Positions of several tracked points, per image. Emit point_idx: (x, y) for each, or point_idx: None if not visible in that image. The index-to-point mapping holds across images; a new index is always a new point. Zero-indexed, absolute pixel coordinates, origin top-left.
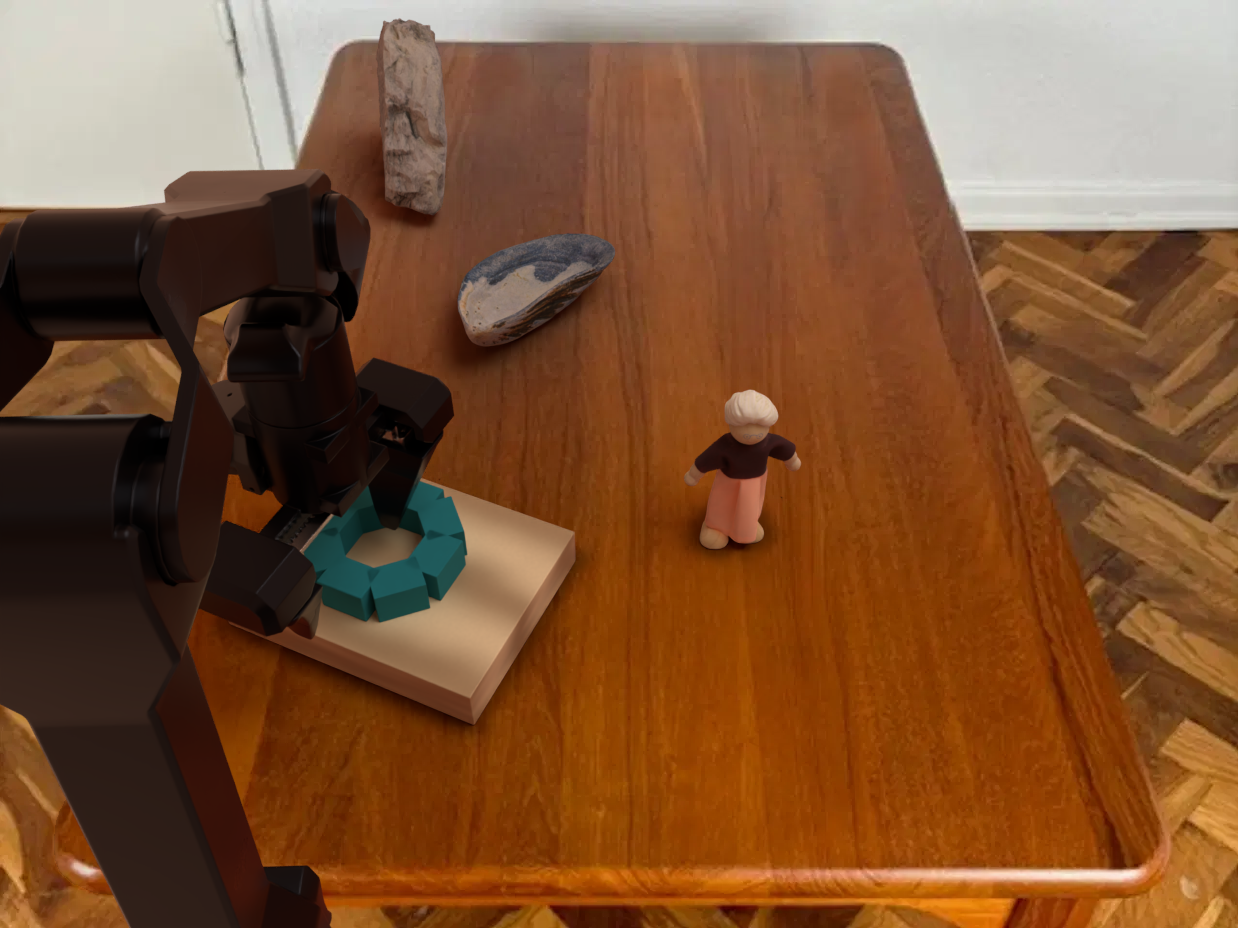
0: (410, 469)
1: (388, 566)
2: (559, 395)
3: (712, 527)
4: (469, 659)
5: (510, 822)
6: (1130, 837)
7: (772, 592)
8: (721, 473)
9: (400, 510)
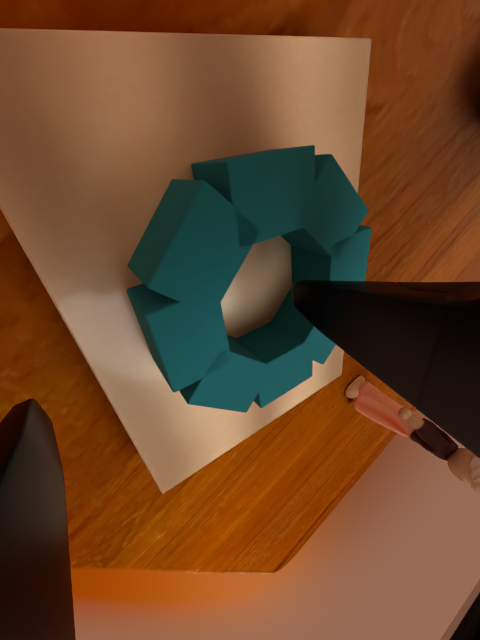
0: (446, 417)
1: (242, 361)
2: (433, 209)
3: (360, 393)
4: (196, 454)
5: (101, 536)
6: (285, 563)
7: (330, 432)
8: (412, 429)
9: (336, 343)
